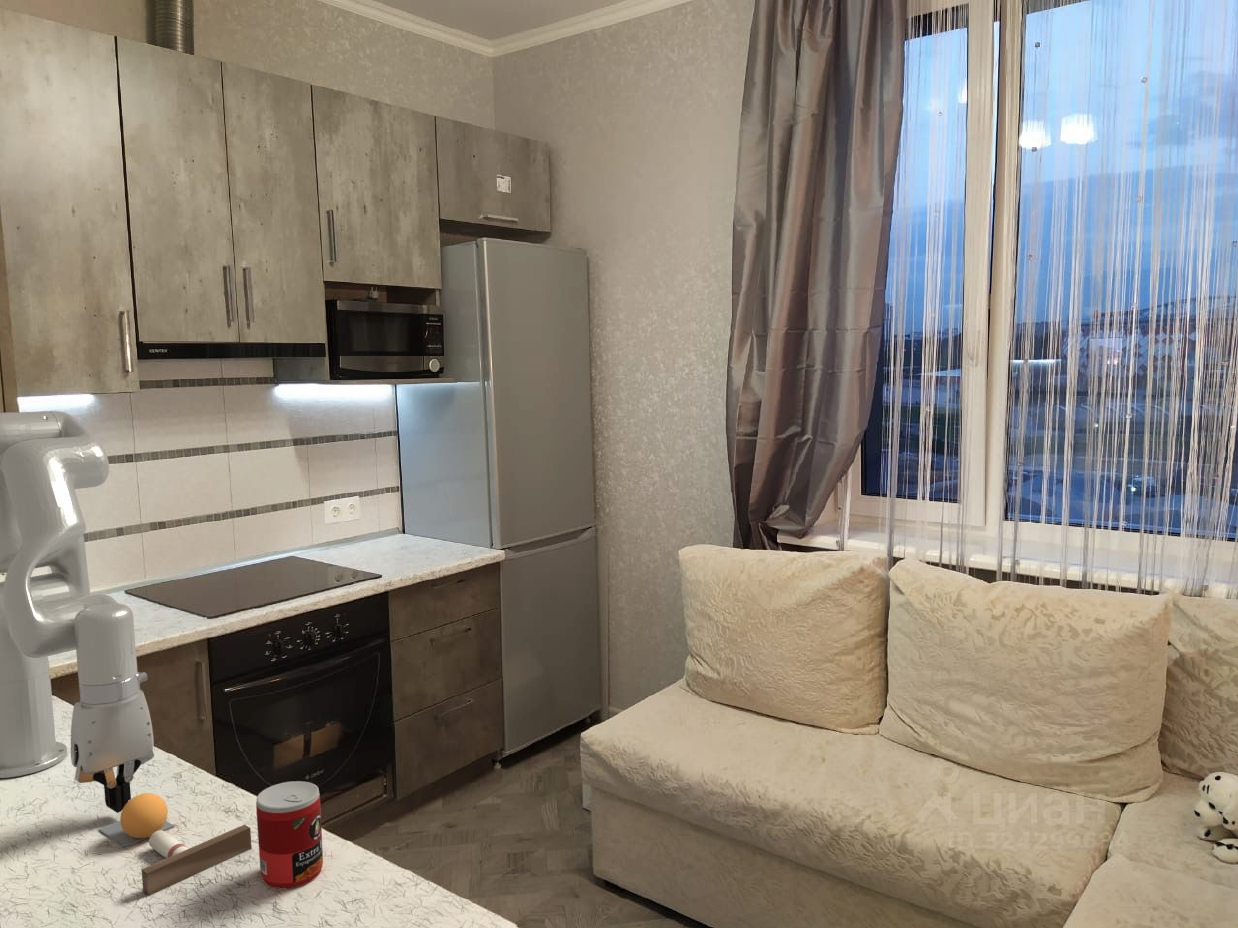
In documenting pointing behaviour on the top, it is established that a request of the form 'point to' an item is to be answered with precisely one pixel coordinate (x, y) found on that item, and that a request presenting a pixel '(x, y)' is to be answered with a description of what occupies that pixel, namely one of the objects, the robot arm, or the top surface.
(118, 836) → the grey flat plate
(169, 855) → the pin
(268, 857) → the canned food
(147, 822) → the ball
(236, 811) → the top surface
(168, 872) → the back wall
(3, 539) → the robot arm
